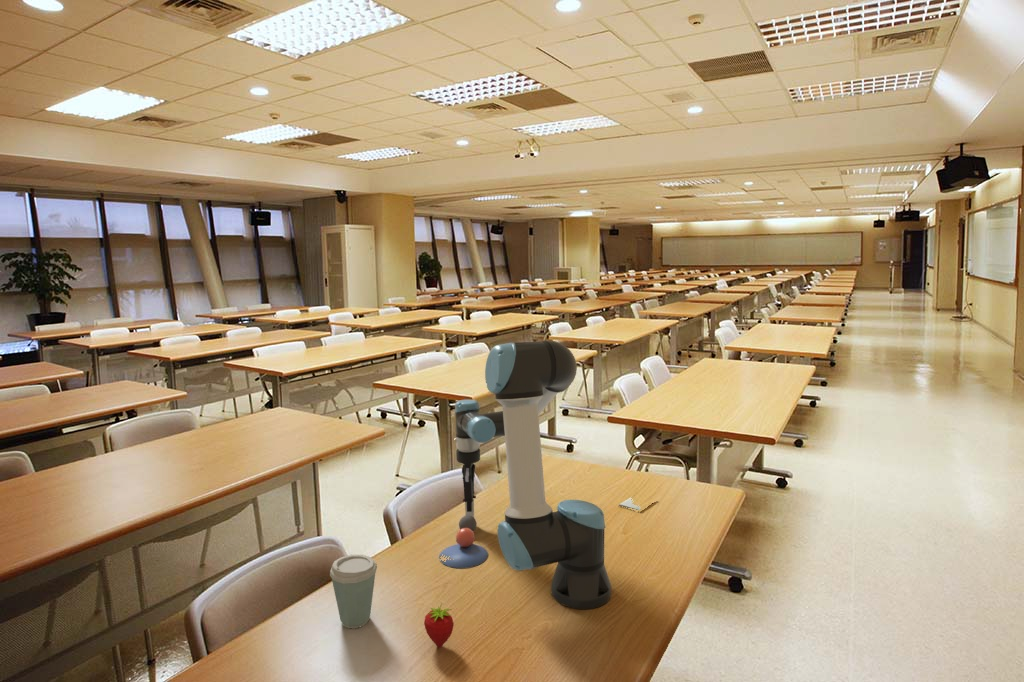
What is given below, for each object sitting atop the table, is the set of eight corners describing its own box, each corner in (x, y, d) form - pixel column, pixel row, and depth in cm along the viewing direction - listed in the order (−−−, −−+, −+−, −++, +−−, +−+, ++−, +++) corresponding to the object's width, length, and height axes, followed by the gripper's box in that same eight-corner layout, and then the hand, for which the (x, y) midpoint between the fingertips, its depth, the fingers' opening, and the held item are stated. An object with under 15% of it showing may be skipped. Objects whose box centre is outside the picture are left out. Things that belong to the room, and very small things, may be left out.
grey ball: (477, 517, 185) (477, 534, 182) (460, 517, 185) (459, 535, 182) (475, 513, 180) (475, 531, 177) (458, 513, 180) (457, 532, 177)
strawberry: (441, 632, 132) (440, 591, 131) (460, 649, 126) (459, 606, 125) (419, 643, 128) (417, 601, 127) (437, 660, 123) (435, 616, 121)
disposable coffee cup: (361, 602, 144) (358, 546, 142) (389, 619, 137) (386, 559, 136) (323, 623, 136) (320, 563, 134) (351, 641, 129) (347, 578, 127)
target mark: (486, 568, 160) (486, 567, 160) (435, 568, 160) (435, 567, 160) (489, 544, 174) (489, 543, 174) (442, 544, 174) (442, 543, 174)
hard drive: (639, 510, 194) (657, 498, 203) (618, 504, 199) (636, 492, 208) (639, 515, 194) (657, 503, 203) (618, 508, 199) (636, 497, 209)
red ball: (475, 546, 174) (473, 548, 169) (457, 546, 174) (454, 548, 169) (475, 527, 176) (473, 528, 170) (457, 527, 176) (455, 528, 170)
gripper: (458, 442, 190) (460, 511, 193) (453, 455, 177) (455, 528, 180) (481, 442, 190) (483, 510, 193) (478, 455, 177) (480, 528, 180)
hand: (470, 519), depth 187 cm, fingers closed
